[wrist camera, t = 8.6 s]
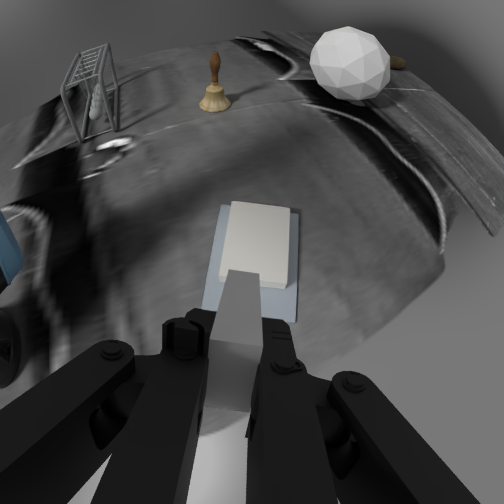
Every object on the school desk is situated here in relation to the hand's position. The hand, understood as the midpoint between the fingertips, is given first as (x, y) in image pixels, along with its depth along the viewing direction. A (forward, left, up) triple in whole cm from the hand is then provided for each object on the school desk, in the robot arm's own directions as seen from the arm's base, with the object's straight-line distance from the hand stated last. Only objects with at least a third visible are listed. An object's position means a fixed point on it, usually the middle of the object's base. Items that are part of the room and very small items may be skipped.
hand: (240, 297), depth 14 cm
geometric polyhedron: (-26, +78, -28) cm, 87 cm away
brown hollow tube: (-27, +133, -28) cm, 139 cm away
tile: (-6, +11, -26) cm, 29 cm away
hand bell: (-46, +43, -28) cm, 69 cm away
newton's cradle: (-72, +21, -28) cm, 80 cm away
